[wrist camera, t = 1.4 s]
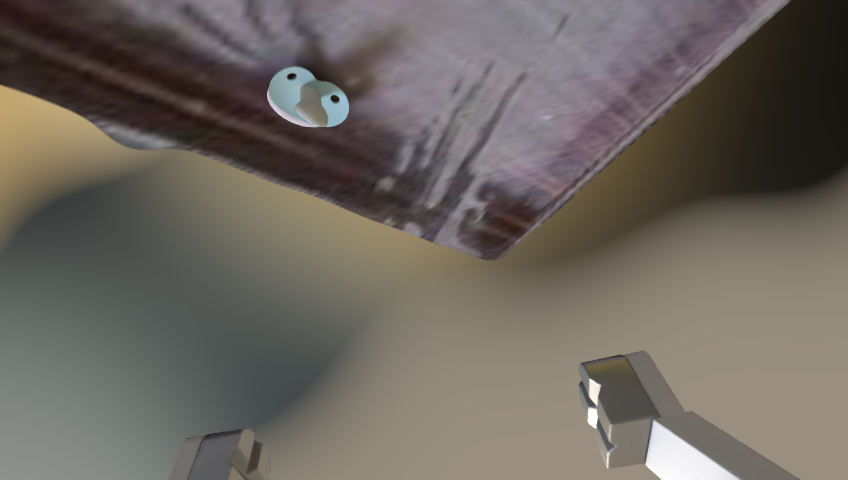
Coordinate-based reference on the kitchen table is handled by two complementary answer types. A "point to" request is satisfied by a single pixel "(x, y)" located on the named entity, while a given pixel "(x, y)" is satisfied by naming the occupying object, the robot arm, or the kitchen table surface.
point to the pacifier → (306, 99)
